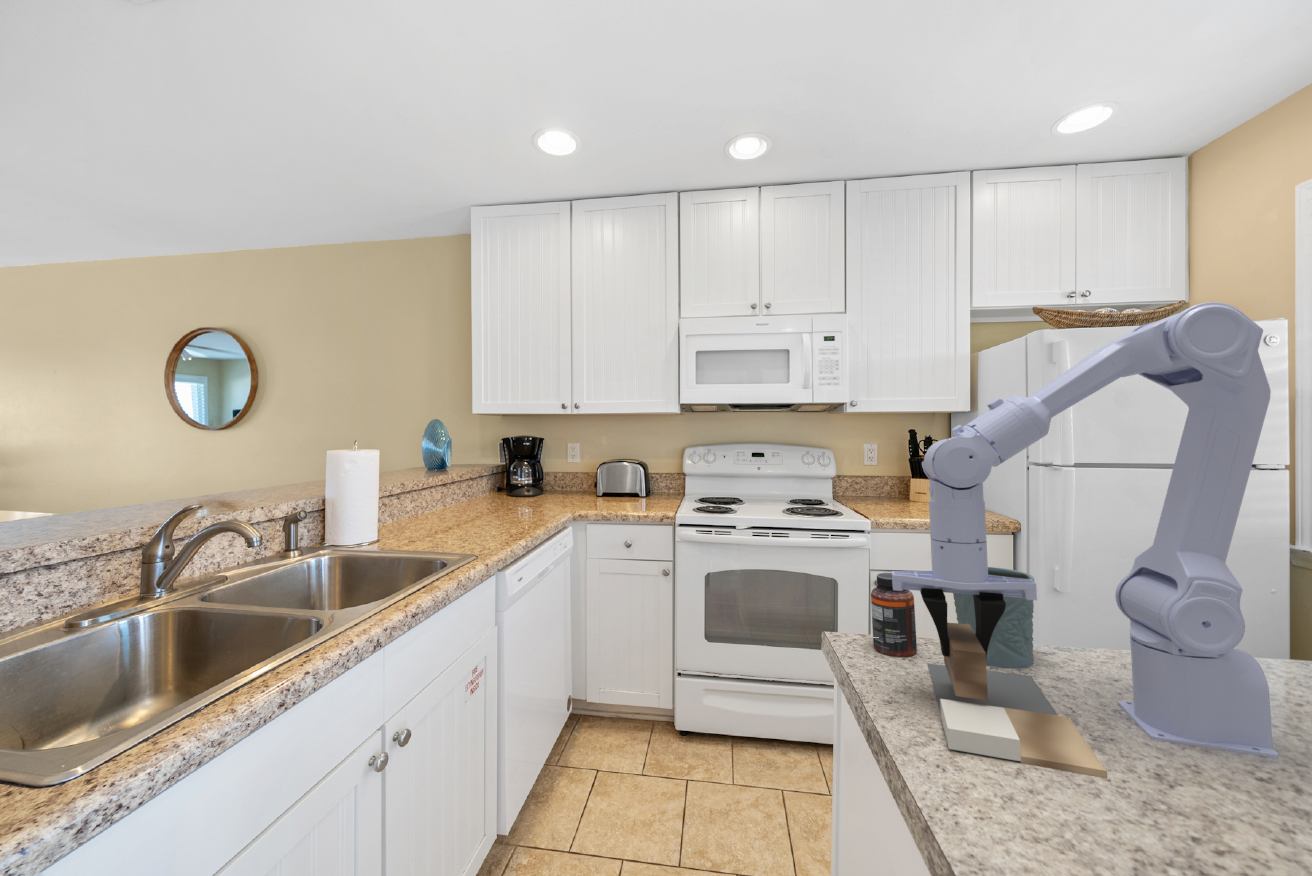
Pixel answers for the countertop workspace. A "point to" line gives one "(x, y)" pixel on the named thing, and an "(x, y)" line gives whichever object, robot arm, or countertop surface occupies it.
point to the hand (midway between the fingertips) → (963, 655)
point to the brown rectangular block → (966, 662)
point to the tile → (979, 730)
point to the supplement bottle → (893, 619)
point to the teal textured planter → (1004, 626)
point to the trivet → (1053, 743)
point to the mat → (995, 691)
